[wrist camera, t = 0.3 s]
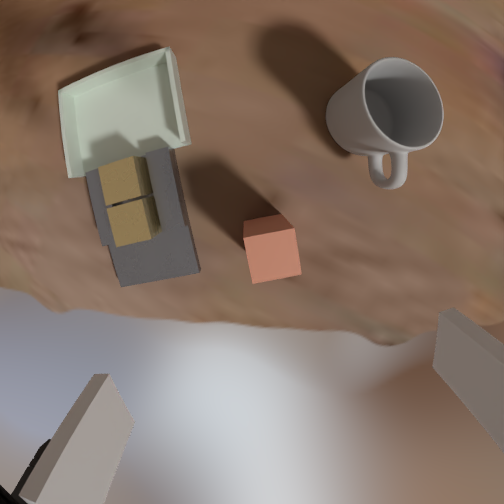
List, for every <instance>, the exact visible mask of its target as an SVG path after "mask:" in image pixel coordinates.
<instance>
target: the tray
mask: <svg viewBox="0 0 504 504" xmlns="http://www.w3.org/2000/svg"><path fill="white" fill-rule="evenodd" d="M58 96H59V110H60V121H61V130H62V139H63V146H64V153H65V160H66V166H67V172H68V177H69V178H76V177H84V176H86V172H89V171H91V170H94V169H97V168H98V167H100V166H103V165H106V164H109V163H112V162H115V161H118V160H121V159H124V158H128V157H131V156H138V157H140V156H144V155H146V154H145V153H147V152H150V151H154V150H157V149H161V148H165V147H171V148H174V149H175V148H179V147H183V146H187V145H191V139H190V134H189V129H188V123H187V118H186V112H185V107H184V101H183V96H182V90H181V84H180V78H179V73H178V67H177V60H176V57H175V55H174V53H173V52H172V50H171V49H170V47H166V48H163V49H159V50H156V51H153V52H150V53H147V54H144V55H141V56H138V57H135V58H132V59H129V60H126V61H124V62H121V63H118V64H116V65H113V66H111V67H108V68H106V69H103V70H101V71H98V72H96V73H94V74H91V75H89V76H87V77H85V78H83V79H80V80H78V81H76V82H74V83H72V84H70V85H68V86H66V87H64V88H62V89H60V90H58Z"/></svg>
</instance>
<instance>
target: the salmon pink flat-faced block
mask: <svg viewBox="0 0 504 504" xmlns="http://www.w3.org/2000/svg"><path fill="white" fill-rule="evenodd" d="M243 239H244V244H245V249H246V253H247V258H248V263H249V268H250V273H251V278H252V283H253V284H254V283H259V282H265V281H270V280H275V279H280V278H285V277H290V276H295V275H300V274H302V273H301V267H300V260H299V253H298V247H297V241H296V235H295V229H294V227H293V226H292V225H291V224H290V223H289V222H288V221H287V220H286V218H285V217H284V216H283V215H282V214H277V215H272V216H267V217H262V218H256V219H251V220H246V221H244V228H243Z"/></svg>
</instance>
